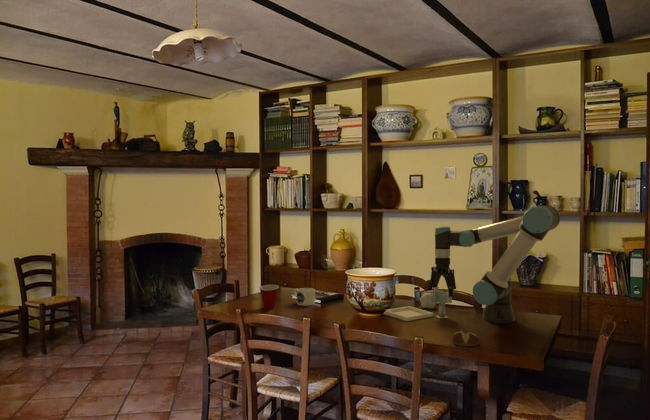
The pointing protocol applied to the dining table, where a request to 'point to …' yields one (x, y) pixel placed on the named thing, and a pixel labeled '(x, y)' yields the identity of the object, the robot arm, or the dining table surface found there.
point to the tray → (408, 313)
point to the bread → (465, 339)
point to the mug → (305, 296)
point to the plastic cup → (269, 295)
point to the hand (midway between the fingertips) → (442, 301)
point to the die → (427, 300)
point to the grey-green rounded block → (439, 297)
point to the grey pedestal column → (441, 311)
